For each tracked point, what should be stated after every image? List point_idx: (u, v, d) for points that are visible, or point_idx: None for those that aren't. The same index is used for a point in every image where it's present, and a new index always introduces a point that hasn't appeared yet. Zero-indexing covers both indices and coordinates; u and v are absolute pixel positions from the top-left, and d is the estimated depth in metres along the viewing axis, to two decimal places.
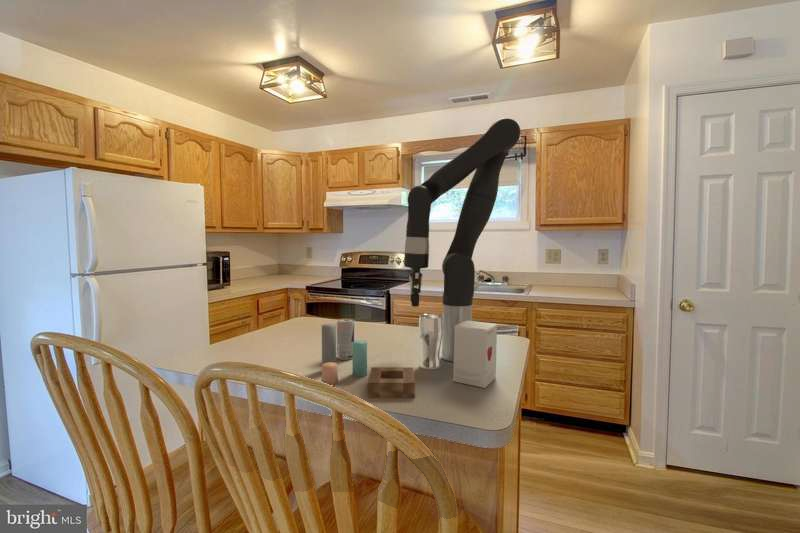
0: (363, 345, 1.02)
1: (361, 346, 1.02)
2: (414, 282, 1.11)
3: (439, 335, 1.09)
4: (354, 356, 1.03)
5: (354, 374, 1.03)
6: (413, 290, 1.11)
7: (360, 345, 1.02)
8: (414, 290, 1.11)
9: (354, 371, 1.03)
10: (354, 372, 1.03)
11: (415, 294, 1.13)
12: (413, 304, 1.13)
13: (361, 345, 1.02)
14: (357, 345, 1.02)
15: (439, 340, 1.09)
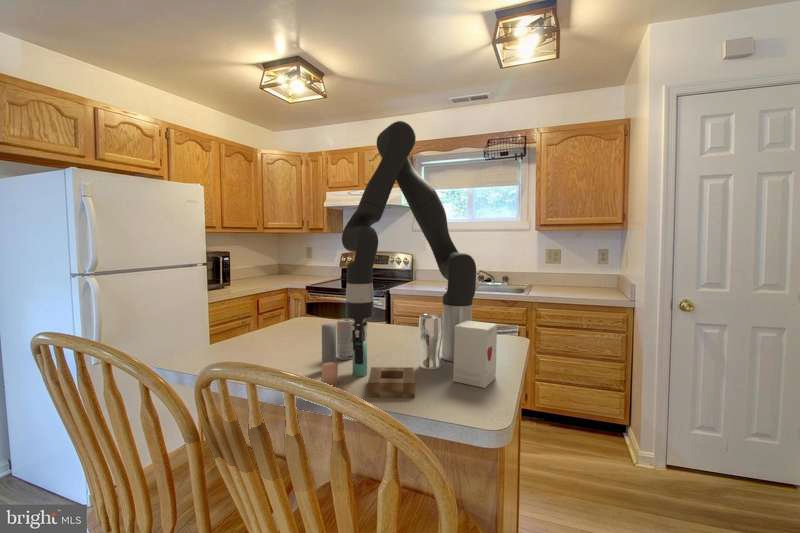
0: None
1: None
2: (355, 341, 0.98)
3: (439, 335, 1.09)
4: (354, 356, 1.03)
5: (354, 374, 1.03)
6: (354, 348, 0.99)
7: None
8: (355, 348, 0.99)
9: (354, 371, 1.03)
10: (354, 372, 1.03)
11: (358, 351, 1.01)
12: (356, 362, 1.01)
13: None
14: None
15: (439, 340, 1.09)
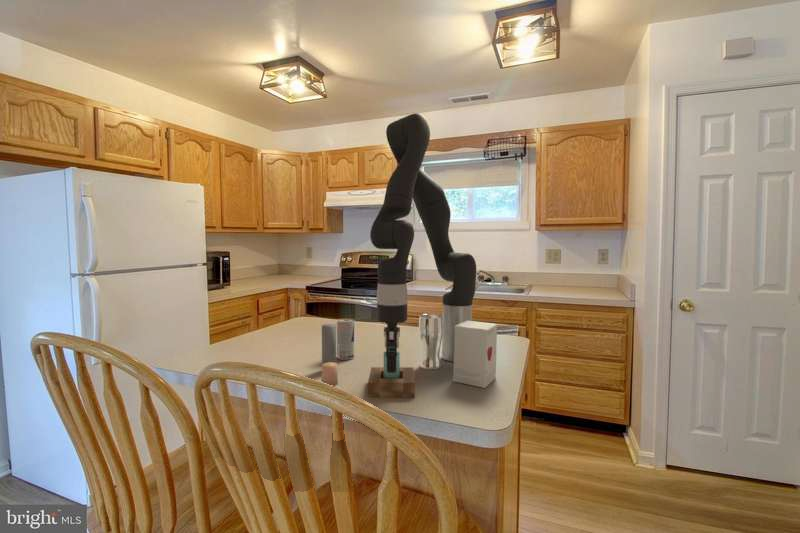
0: None
1: None
2: (388, 344, 0.87)
3: (439, 335, 1.09)
4: (386, 368, 0.93)
5: None
6: (387, 354, 0.87)
7: None
8: (389, 354, 0.87)
9: None
10: None
11: (391, 358, 0.89)
12: (389, 370, 0.89)
13: None
14: None
15: (439, 340, 1.09)
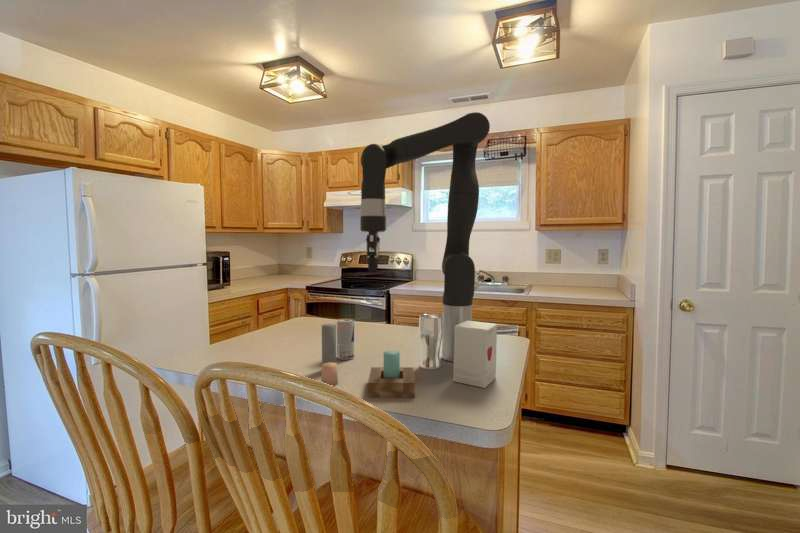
0: (396, 356, 0.93)
1: (394, 357, 0.92)
2: (369, 245, 1.05)
3: (439, 335, 1.09)
4: (386, 368, 0.93)
5: None
6: (368, 253, 1.05)
7: (392, 356, 0.92)
8: (369, 253, 1.05)
9: None
10: None
11: (371, 258, 1.07)
12: (370, 269, 1.08)
13: (394, 356, 0.92)
14: (389, 356, 0.92)
15: (439, 340, 1.09)
